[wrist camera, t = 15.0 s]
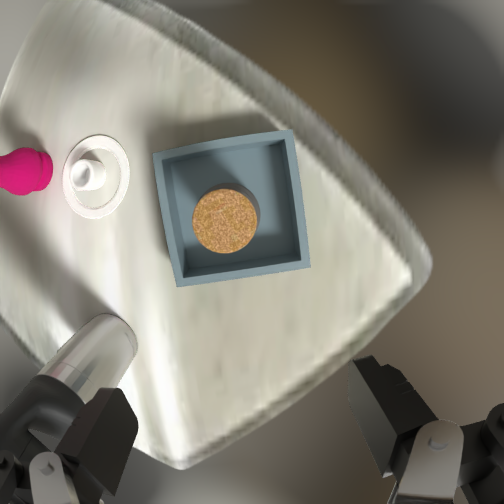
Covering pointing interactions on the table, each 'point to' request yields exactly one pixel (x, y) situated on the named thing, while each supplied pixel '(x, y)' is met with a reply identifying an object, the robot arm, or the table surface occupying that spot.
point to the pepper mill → (25, 171)
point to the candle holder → (93, 175)
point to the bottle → (226, 217)
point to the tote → (251, 177)
